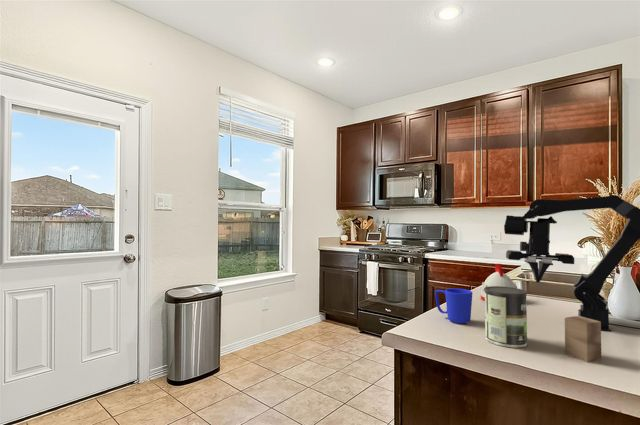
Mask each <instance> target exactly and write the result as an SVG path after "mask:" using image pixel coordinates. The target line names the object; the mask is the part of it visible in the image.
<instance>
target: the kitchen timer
mask: <svg viewBox="0 0 640 425" xmlns="http://www.w3.org/2000/svg"><path fill="white" fill-rule="evenodd" d="M494 269H495V270H494V271H495V272H493V273H492V274H490V275H489V276H487V278H486V279H485V281H482V282H481V289H480V300H481V301H483V302H485V291H484V288H485V287H490V286H502V287H512V288H518V286H517V285H516V283H514V282H513V280H512V279H511V278H510V276H508V275H507V274H506V273H504V270H503V267H502V265H501V264H499V263H495V266H494Z"/></svg>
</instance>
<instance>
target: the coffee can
mask: <svg viewBox="0 0 640 425" xmlns="http://www.w3.org/2000/svg"><path fill="white" fill-rule="evenodd" d="M484 291H485V301H484V321H485V322H484V328H485V336H484V338H485V340H486V341H487V342H488V343H491V344H494V345H496V346H500V347H504V348H512V349H513V348H514V349H517V348H526V347H527V346H528V331H527V330H528V325H527V324H528V323H527V322H528V319H527V318H528V317H527V315H528V314H527V312H528V310H527V295H528V292H527V291H526V290H525V289H521V288H518V287H517V288H512V287H502V286H490V287H485V288H484Z"/></svg>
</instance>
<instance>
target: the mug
mask: <svg viewBox="0 0 640 425" xmlns="http://www.w3.org/2000/svg"><path fill="white" fill-rule="evenodd" d="M439 293H443V294H444V296H445V304H446V311H445V310H443V309H442V307H441V306H440V300H439ZM434 295H435V303H436V308H437V310H438V311H439V313H441V314H447V318H448V320H449V321H450V322H452V323H455V324H461V325H463V324H468V323H470V321H471V319H472V306H473V291H472V290H470V289H464V288H455V287H453V288H451V287H450V288H446V289H445V290H442V289H436V290H435V293H434Z"/></svg>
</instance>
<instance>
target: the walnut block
mask: <svg viewBox="0 0 640 425" xmlns="http://www.w3.org/2000/svg"><path fill="white" fill-rule="evenodd" d="M564 351H565V353H564V354H565V355H567V356H570V357H573V358H575V359H577V360H581V361H583V362H586V363H591V362H595V361H599V360H602V330H601V322H600V321H597V320H593V319H589V318H585V317H581V316H578V315H575V316H568V317H564Z"/></svg>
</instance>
